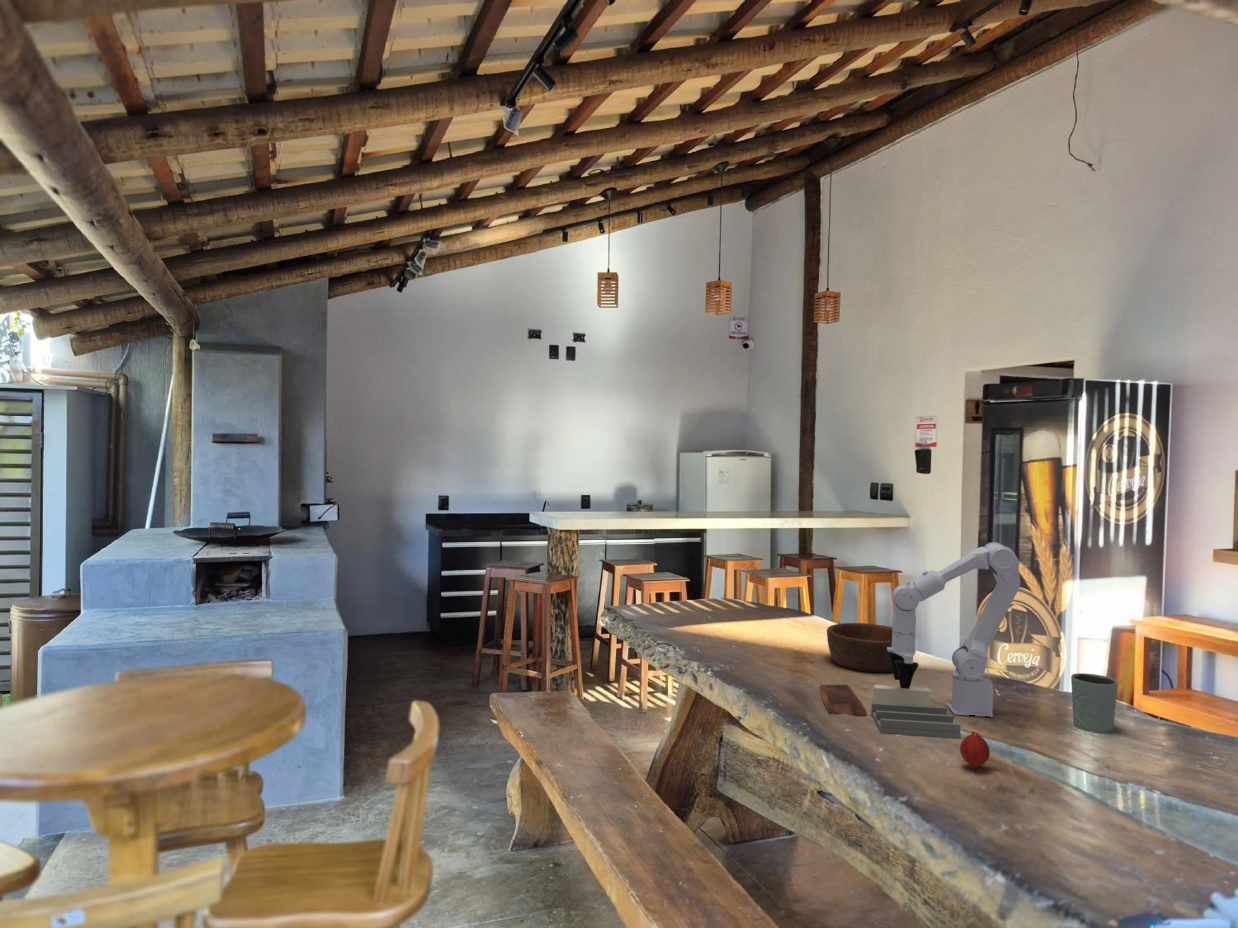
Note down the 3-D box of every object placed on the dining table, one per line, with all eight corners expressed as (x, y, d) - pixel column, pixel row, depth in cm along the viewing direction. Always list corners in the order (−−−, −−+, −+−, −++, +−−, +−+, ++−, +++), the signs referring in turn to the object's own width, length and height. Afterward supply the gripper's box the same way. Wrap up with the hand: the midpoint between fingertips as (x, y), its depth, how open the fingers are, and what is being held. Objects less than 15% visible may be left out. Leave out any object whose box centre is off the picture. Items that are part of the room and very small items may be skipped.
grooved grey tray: (945, 718, 209) (945, 706, 209) (960, 738, 196) (961, 725, 195) (871, 713, 212) (871, 701, 212) (881, 732, 198) (881, 720, 198)
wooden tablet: (816, 680, 237) (852, 678, 236) (816, 688, 237) (853, 686, 236) (827, 711, 211) (868, 708, 209) (828, 719, 211) (868, 717, 210)
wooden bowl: (825, 671, 250) (827, 637, 250) (825, 651, 274) (826, 620, 274) (914, 679, 244) (915, 644, 244) (906, 657, 269) (907, 625, 268)
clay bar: (927, 706, 219) (928, 687, 219) (930, 710, 216) (931, 691, 216) (872, 703, 221) (873, 684, 221) (874, 707, 218) (875, 687, 218)
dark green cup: (1092, 735, 200) (1094, 685, 199) (1059, 721, 209) (1061, 673, 209) (1126, 732, 202) (1128, 683, 202) (1092, 718, 212) (1094, 671, 212)
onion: (964, 760, 182) (965, 723, 182) (992, 767, 178) (993, 730, 178) (955, 767, 177) (957, 730, 177) (984, 775, 174) (985, 737, 174)
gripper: (882, 625, 226) (880, 674, 226) (893, 637, 211) (891, 690, 212) (909, 626, 225) (907, 676, 225) (922, 639, 210) (920, 692, 211)
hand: (901, 683), depth 218 cm, fingers open, 7 cm apart
